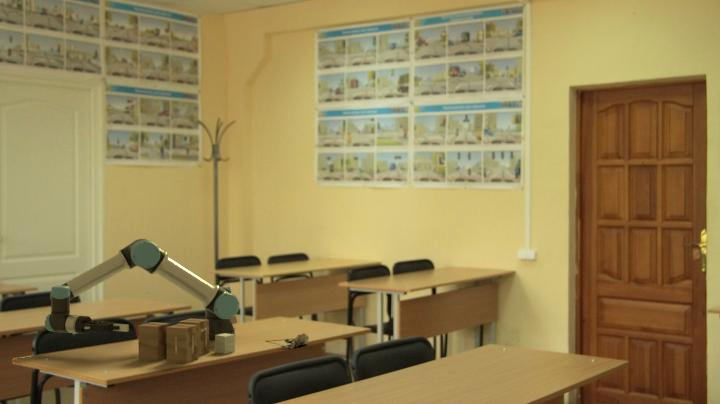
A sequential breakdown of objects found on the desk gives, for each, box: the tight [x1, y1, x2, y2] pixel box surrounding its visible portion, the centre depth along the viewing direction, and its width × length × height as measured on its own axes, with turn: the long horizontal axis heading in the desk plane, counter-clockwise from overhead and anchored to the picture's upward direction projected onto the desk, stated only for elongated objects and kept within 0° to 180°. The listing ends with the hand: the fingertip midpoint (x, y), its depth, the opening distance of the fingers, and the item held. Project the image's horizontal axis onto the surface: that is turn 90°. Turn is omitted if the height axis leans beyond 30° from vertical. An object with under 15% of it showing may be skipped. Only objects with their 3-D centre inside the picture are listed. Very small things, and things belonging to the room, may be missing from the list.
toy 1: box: [231, 315, 238, 325], centre depth 448 cm, size 7×5×15 cm
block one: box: [166, 323, 199, 365], centre depth 364 cm, size 9×9×14 cm
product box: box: [214, 333, 236, 355], centre depth 383 cm, size 6×6×7 cm
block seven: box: [178, 318, 210, 358], centre depth 378 cm, size 9×9×14 cm
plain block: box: [137, 321, 171, 363], centre depth 369 cm, size 9×9×14 cm
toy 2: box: [265, 332, 309, 350], centre depth 398 cm, size 29×5×15 cm
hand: (127, 328), depth 373 cm, fingers closed
